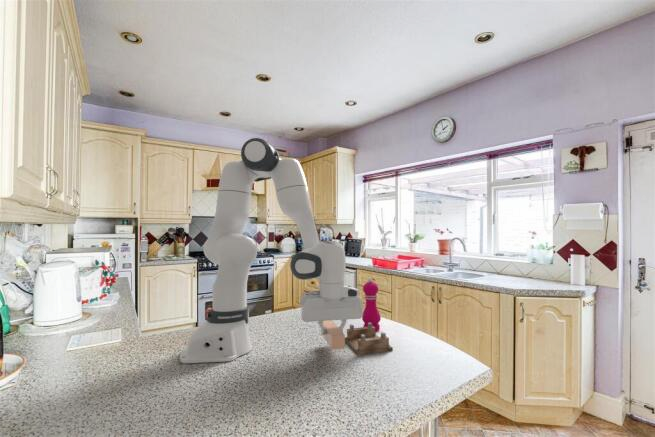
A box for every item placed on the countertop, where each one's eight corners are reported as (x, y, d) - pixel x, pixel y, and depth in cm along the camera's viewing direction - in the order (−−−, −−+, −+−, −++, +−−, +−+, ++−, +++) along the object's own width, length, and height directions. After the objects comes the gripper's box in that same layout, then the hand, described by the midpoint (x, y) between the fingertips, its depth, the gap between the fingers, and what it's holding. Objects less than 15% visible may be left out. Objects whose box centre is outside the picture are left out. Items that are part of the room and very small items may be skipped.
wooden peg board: (357, 355, 100) (357, 337, 100) (344, 340, 113) (343, 324, 113) (392, 350, 103) (392, 333, 103) (375, 336, 116) (374, 321, 116)
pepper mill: (382, 332, 121) (380, 279, 121) (363, 332, 121) (362, 279, 122) (379, 326, 128) (378, 276, 129) (361, 326, 128) (360, 276, 129)
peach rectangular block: (331, 349, 94) (331, 335, 94) (321, 332, 110) (321, 321, 110) (344, 348, 95) (344, 334, 95) (332, 332, 111) (332, 320, 111)
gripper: (301, 293, 98) (301, 339, 97) (364, 291, 102) (364, 334, 102) (299, 290, 104) (298, 332, 103) (358, 287, 108) (358, 328, 108)
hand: (332, 333), depth 103 cm, fingers closed on peach rectangular block, 4 cm apart
